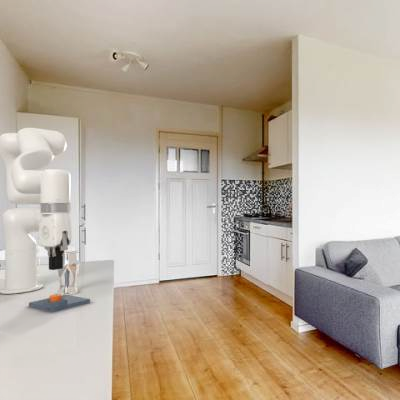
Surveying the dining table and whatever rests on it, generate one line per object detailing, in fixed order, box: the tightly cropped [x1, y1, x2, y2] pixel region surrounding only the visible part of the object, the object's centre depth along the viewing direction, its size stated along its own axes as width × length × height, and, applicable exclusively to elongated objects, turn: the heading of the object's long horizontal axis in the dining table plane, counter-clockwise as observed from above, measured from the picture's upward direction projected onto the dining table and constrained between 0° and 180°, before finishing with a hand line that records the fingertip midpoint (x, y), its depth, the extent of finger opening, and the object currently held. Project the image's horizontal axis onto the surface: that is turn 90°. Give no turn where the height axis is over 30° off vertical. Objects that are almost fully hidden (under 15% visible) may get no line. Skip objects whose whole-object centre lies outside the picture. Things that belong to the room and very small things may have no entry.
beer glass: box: [56, 250, 80, 295], centre depth 126 cm, size 7×7×15 cm
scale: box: [28, 294, 91, 313], centre depth 110 cm, size 14×12×3 cm
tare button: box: [49, 293, 62, 302], centre depth 105 cm, size 3×3×2 cm
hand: (55, 269), depth 105 cm, fingers closed
